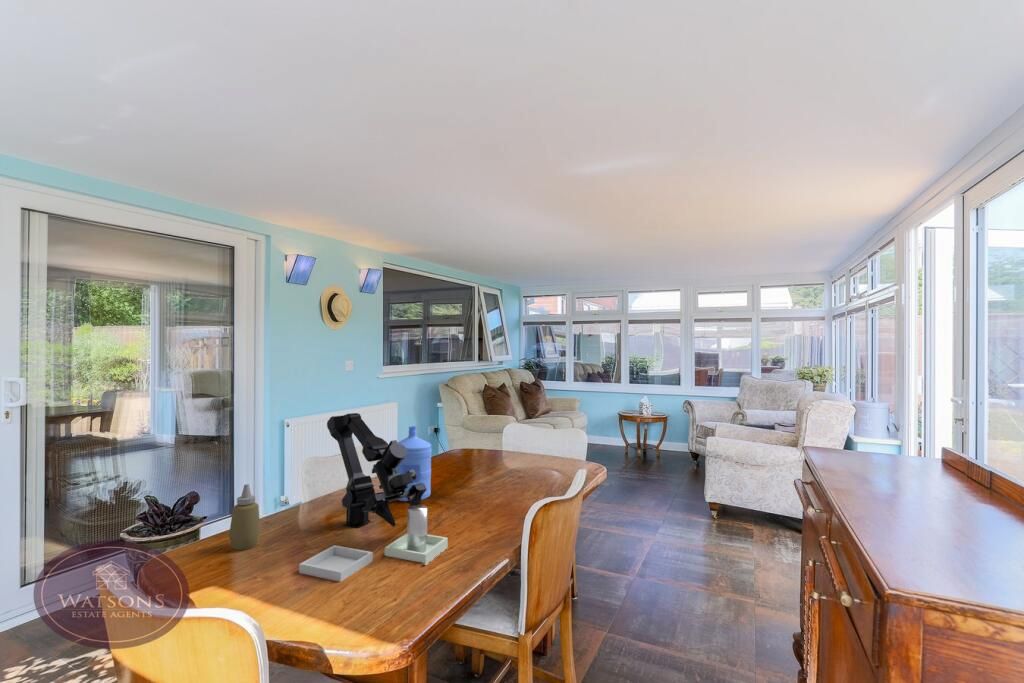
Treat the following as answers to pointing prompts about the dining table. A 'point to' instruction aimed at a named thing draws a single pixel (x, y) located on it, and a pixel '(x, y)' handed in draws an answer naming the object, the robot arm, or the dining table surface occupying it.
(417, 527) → the brushed metal cylinder
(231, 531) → the squeeze bottle
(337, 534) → the dining table surface
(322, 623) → the dining table surface
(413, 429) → the water jug
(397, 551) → the sage bin
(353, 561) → the grey bin
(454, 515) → the dining table surface
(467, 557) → the dining table surface
